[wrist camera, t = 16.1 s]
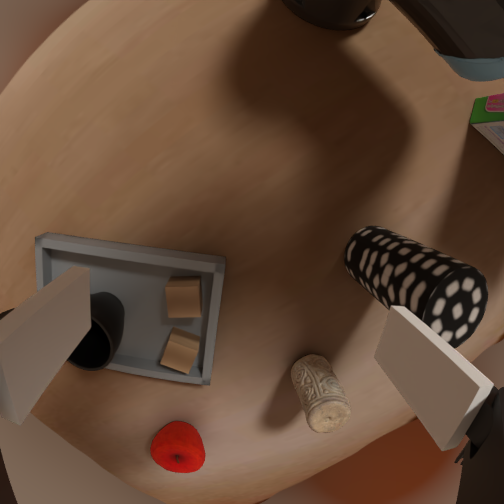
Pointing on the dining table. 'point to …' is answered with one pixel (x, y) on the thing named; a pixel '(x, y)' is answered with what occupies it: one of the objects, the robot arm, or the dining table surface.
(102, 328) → the mug
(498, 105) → the game box
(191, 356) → the walnut block
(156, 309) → the tray
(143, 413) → the dining table surface
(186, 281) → the walnut block
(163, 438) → the apple
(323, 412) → the carving
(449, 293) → the spotted tube
